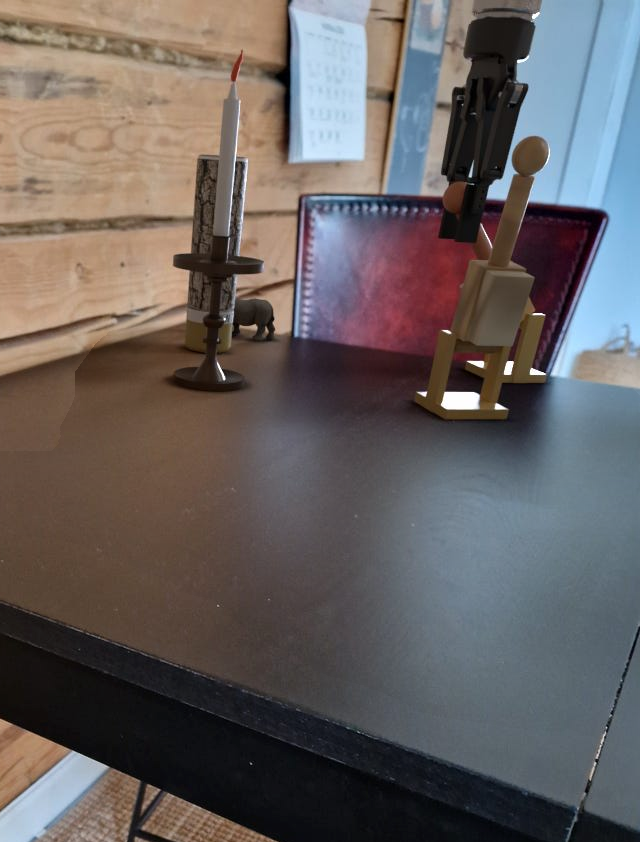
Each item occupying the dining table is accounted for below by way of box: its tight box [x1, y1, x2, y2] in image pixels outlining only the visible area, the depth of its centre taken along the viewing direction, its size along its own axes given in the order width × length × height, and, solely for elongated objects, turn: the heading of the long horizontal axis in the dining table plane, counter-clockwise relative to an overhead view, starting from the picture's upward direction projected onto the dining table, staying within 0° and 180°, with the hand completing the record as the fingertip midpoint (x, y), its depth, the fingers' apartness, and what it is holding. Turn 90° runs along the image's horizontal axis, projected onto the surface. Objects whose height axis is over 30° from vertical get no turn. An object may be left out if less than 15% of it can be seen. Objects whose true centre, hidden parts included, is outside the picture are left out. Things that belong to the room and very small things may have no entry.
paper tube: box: [184, 153, 249, 354], centre depth 120 cm, size 7×7×25 cm
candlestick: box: [172, 49, 265, 392], centre depth 100 cm, size 11×11×35 cm
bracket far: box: [464, 313, 548, 384], centre depth 120 cm, size 8×8×9 cm
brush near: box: [450, 135, 550, 354], centre depth 93 cm, size 22×5×6 cm
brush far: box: [442, 182, 536, 330], centre depth 113 cm, size 22×5×6 cm
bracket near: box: [413, 329, 512, 420], centre depth 101 cm, size 8×8×9 cm
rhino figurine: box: [231, 296, 276, 342], centre depth 136 cm, size 4×14×6 cm, turn 68°
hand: (456, 240), depth 111 cm, fingers closed on brush far, 4 cm apart
